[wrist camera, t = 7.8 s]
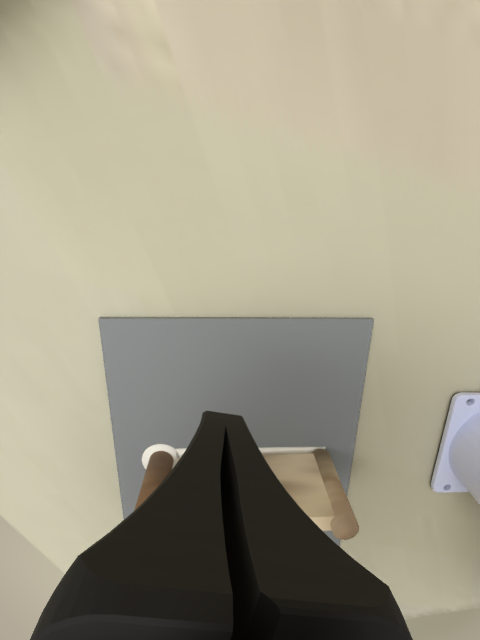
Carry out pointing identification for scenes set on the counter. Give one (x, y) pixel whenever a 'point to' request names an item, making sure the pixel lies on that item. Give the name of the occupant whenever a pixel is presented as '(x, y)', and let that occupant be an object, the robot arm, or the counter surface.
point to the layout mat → (233, 385)
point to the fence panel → (316, 490)
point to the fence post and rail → (154, 474)
